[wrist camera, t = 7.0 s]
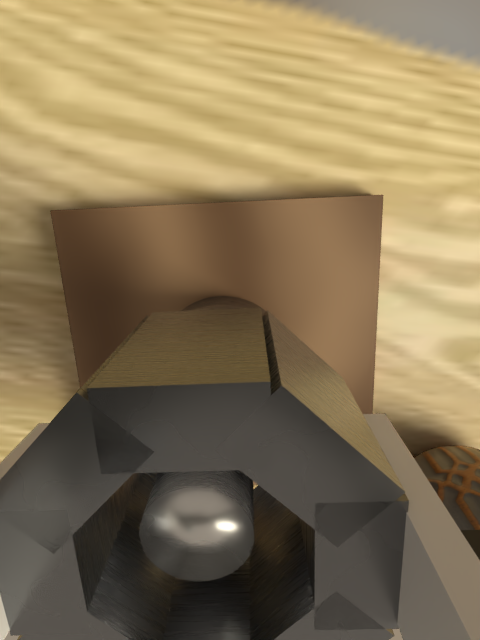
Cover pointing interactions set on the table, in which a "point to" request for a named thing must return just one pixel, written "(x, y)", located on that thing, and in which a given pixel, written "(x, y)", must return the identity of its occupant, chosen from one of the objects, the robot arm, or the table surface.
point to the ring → (205, 455)
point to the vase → (455, 481)
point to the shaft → (200, 509)
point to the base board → (228, 272)
